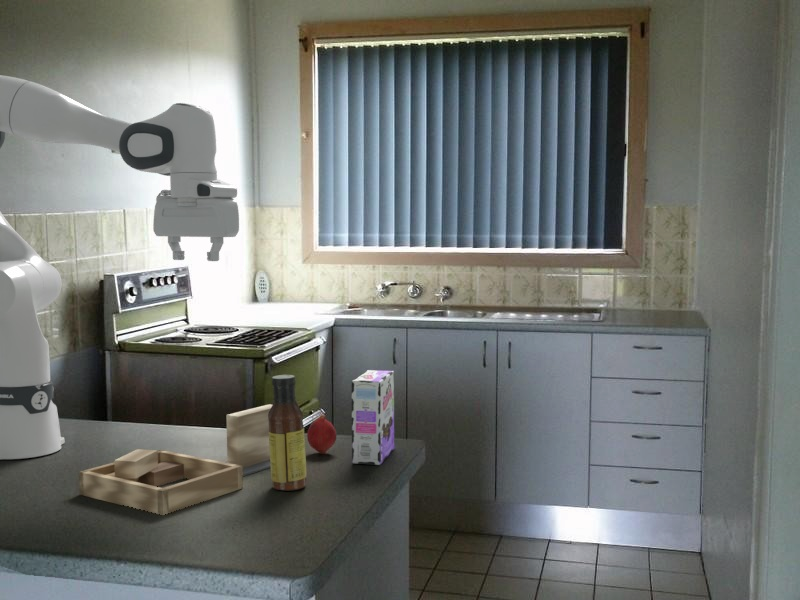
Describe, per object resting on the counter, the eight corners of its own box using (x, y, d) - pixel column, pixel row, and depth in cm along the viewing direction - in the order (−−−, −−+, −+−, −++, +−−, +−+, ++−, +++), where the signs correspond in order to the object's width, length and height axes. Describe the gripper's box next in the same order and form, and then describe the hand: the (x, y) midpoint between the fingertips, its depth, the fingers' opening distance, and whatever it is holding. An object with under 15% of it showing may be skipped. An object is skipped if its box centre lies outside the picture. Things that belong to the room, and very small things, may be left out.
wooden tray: (79, 494, 166) (78, 471, 165) (161, 470, 181) (160, 449, 180) (163, 515, 154) (162, 491, 154) (242, 488, 169) (242, 465, 169)
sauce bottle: (308, 482, 173) (306, 373, 171) (304, 492, 166) (303, 379, 165) (271, 482, 173) (269, 373, 171) (267, 492, 166) (265, 379, 165)
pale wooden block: (227, 466, 182) (226, 414, 181) (270, 453, 192) (269, 404, 191) (239, 469, 180) (238, 416, 179) (281, 455, 190) (280, 405, 189)
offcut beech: (114, 477, 167) (114, 460, 166) (137, 465, 174) (137, 449, 174) (135, 478, 166) (135, 461, 165) (157, 466, 173) (157, 450, 173)
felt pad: (207, 469, 181) (207, 467, 181) (267, 451, 195) (267, 449, 195) (242, 476, 176) (242, 474, 176) (301, 457, 190) (301, 455, 190)
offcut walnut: (139, 485, 172) (138, 469, 172) (168, 476, 178) (168, 460, 178) (154, 489, 170) (154, 472, 170) (184, 479, 176) (183, 463, 175)
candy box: (380, 466, 184) (380, 381, 182) (350, 464, 185) (350, 380, 183) (395, 448, 197) (395, 369, 196) (367, 447, 198) (367, 368, 197)
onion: (309, 457, 190) (308, 418, 189) (306, 450, 196) (305, 412, 195) (338, 456, 191) (337, 416, 190) (334, 449, 197) (334, 410, 196)
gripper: (144, 189, 189) (146, 260, 190) (219, 187, 177) (221, 262, 178) (169, 190, 194) (170, 258, 195) (243, 188, 182) (245, 261, 184)
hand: (195, 260), depth 187 cm, fingers open, 8 cm apart
